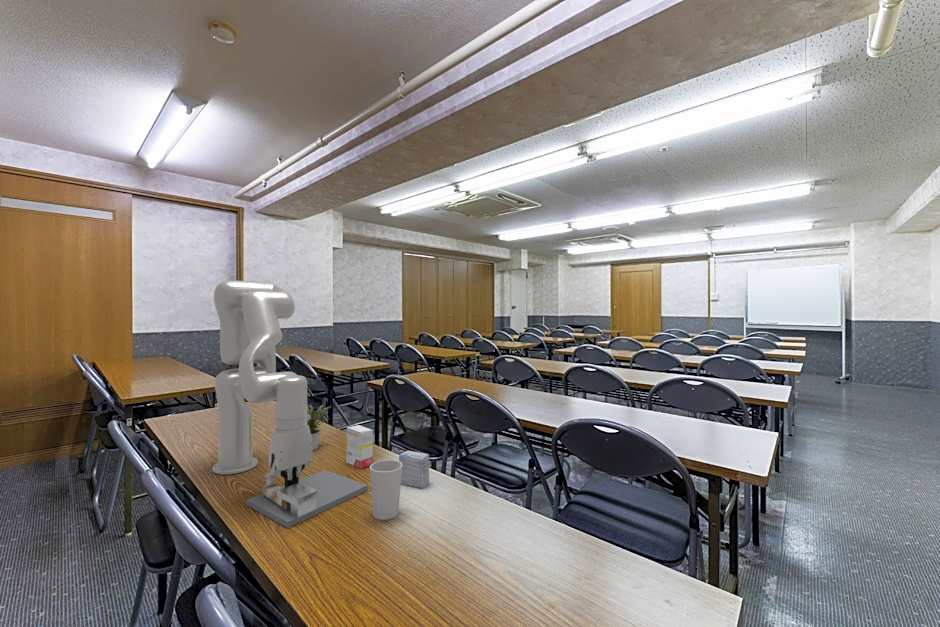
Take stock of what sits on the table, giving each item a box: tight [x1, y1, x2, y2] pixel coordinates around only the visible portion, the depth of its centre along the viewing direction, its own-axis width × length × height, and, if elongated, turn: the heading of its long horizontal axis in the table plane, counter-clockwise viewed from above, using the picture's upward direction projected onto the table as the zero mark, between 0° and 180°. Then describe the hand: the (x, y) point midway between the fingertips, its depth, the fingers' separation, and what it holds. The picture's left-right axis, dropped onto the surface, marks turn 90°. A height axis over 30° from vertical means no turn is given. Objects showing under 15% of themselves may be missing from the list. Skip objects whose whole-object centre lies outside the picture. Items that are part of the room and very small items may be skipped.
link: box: [262, 482, 291, 510], centre depth 104 cm, size 14×4×2 cm, turn 51°
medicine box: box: [398, 450, 430, 489], centre depth 119 cm, size 8×4×9 cm, turn 65°
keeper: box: [277, 483, 318, 517], centre depth 100 cm, size 8×6×4 cm
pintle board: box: [245, 469, 369, 529], centre depth 109 cm, size 19×24×7 cm
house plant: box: [307, 403, 331, 451], centre depth 148 cm, size 14×14×16 cm
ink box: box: [345, 424, 374, 469], centre depth 134 cm, size 9×5×12 cm, turn 49°
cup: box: [369, 459, 402, 521], centre depth 101 cm, size 8×8×12 cm
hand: (291, 492), depth 106 cm, fingers closed
